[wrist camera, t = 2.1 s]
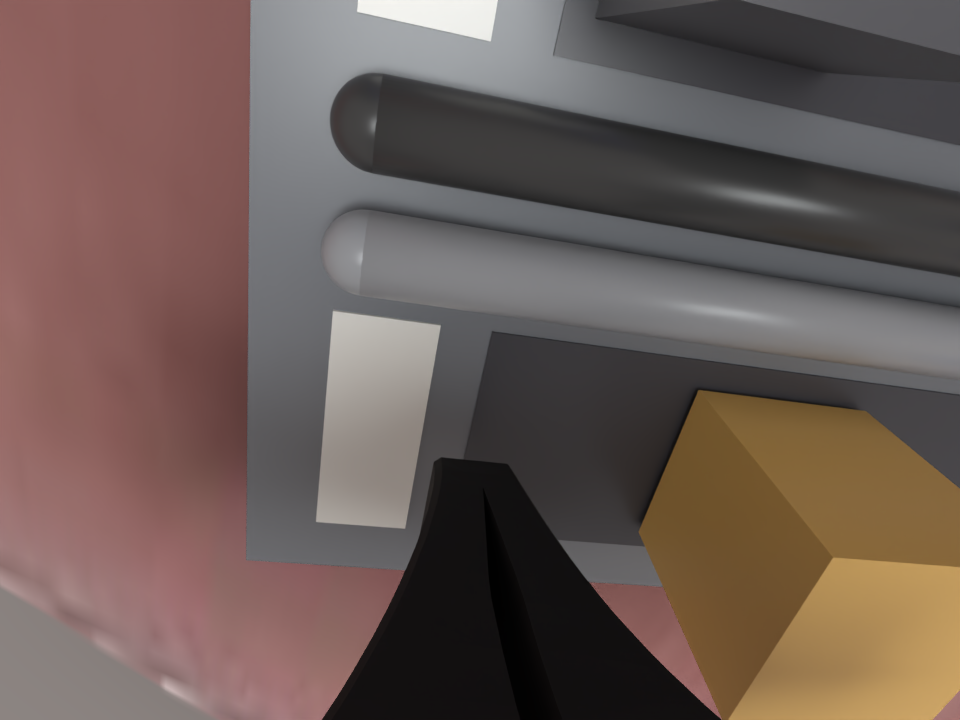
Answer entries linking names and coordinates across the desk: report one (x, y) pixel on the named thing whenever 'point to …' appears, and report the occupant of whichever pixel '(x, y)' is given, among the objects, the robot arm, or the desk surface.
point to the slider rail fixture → (583, 249)
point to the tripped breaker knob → (809, 562)
